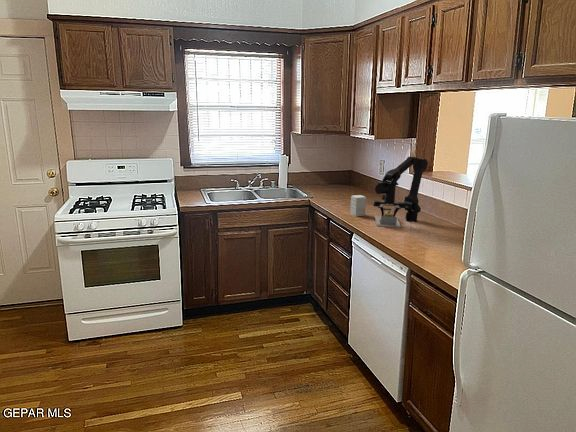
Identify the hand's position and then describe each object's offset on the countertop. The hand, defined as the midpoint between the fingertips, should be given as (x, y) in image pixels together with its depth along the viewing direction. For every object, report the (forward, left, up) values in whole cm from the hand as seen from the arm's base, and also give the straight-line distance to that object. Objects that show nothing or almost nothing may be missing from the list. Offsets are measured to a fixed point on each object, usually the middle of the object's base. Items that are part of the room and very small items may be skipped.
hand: (388, 217), depth 269 cm
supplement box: (+18, -20, -4) cm, 27 cm away
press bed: (0, -5, -4) cm, 7 cm away
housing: (0, 0, -3) cm, 3 cm away
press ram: (0, -12, -2) cm, 13 cm away
